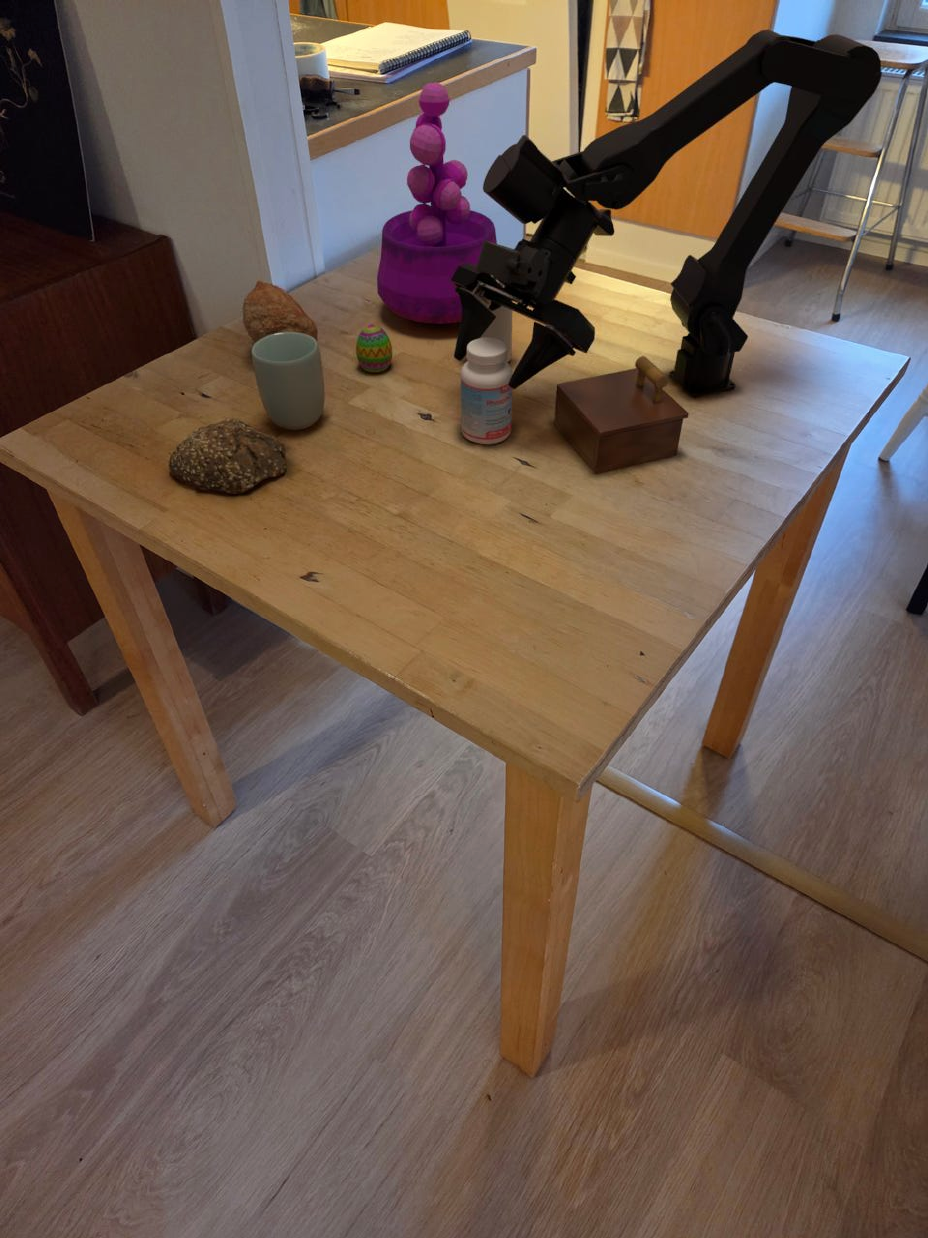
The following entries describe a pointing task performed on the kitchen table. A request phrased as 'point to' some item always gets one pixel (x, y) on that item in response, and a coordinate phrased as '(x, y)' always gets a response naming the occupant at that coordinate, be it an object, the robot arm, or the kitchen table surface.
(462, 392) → the pill bottle
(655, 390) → the lid
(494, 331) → the beverage can
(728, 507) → the kitchen table surface
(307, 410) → the cup
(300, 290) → the kitchen table surface
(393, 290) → the decorative plant
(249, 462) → the bread roll
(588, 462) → the chest
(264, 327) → the crusty roll
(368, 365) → the egg
